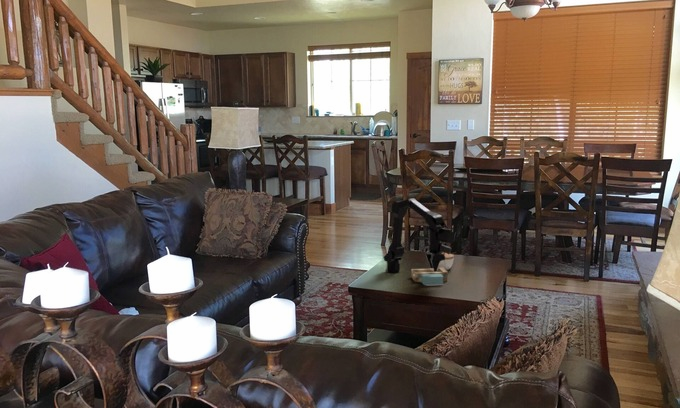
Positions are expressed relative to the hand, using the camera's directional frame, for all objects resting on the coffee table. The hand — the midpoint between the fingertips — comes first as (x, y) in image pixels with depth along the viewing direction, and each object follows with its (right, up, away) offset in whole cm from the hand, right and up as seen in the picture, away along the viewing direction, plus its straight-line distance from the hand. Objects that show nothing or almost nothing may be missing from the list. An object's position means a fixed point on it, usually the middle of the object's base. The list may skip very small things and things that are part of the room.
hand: (433, 269), depth 286 cm
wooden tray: (0, -6, +10) cm, 11 cm away
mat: (0, -7, +1) cm, 8 cm away
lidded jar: (+11, -3, +31) cm, 33 cm away
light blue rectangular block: (-1, -7, +1) cm, 7 cm away
